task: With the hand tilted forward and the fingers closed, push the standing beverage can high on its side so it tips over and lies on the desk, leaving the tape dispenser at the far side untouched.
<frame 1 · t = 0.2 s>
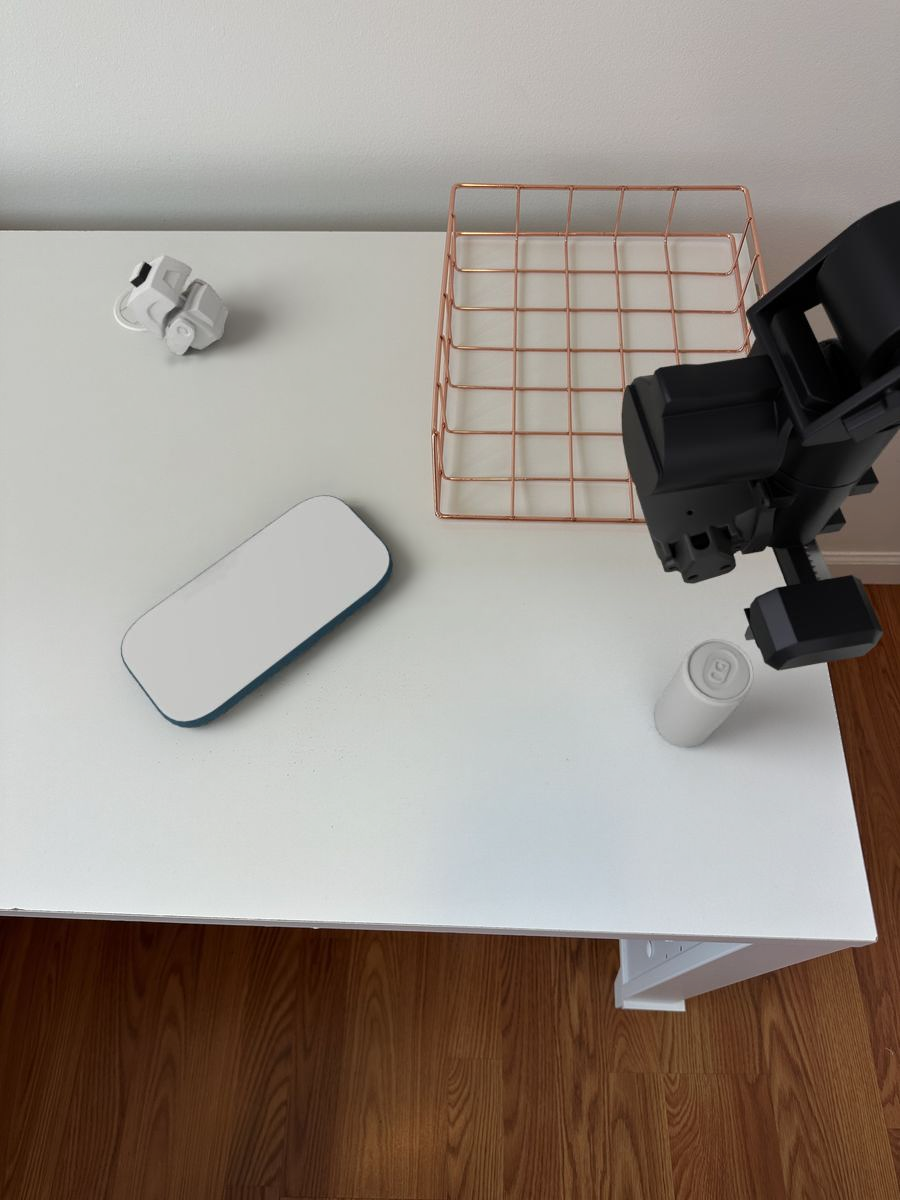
hand: (730, 576, 58), 14 cm above the table, tool pointing down, fingers open, 9 cm apart
beverage can: (680, 721, 68), on the table
external hard drive: (263, 612, 73), on the table
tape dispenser: (193, 336, 87), on the table
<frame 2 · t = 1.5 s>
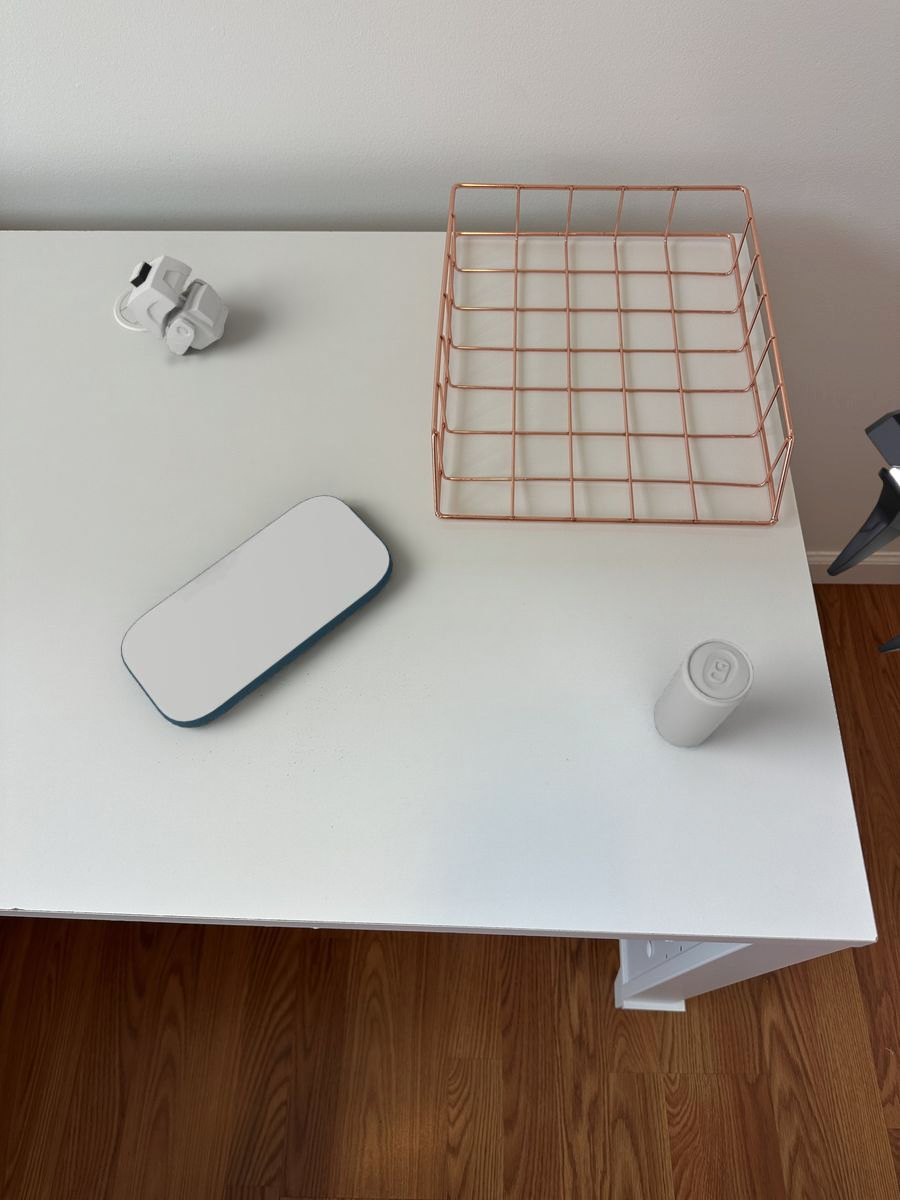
hand: (854, 611, 57), 14 cm above the table, tool tilted 45°, fingers open, 6 cm apart
nothing on the table moved.
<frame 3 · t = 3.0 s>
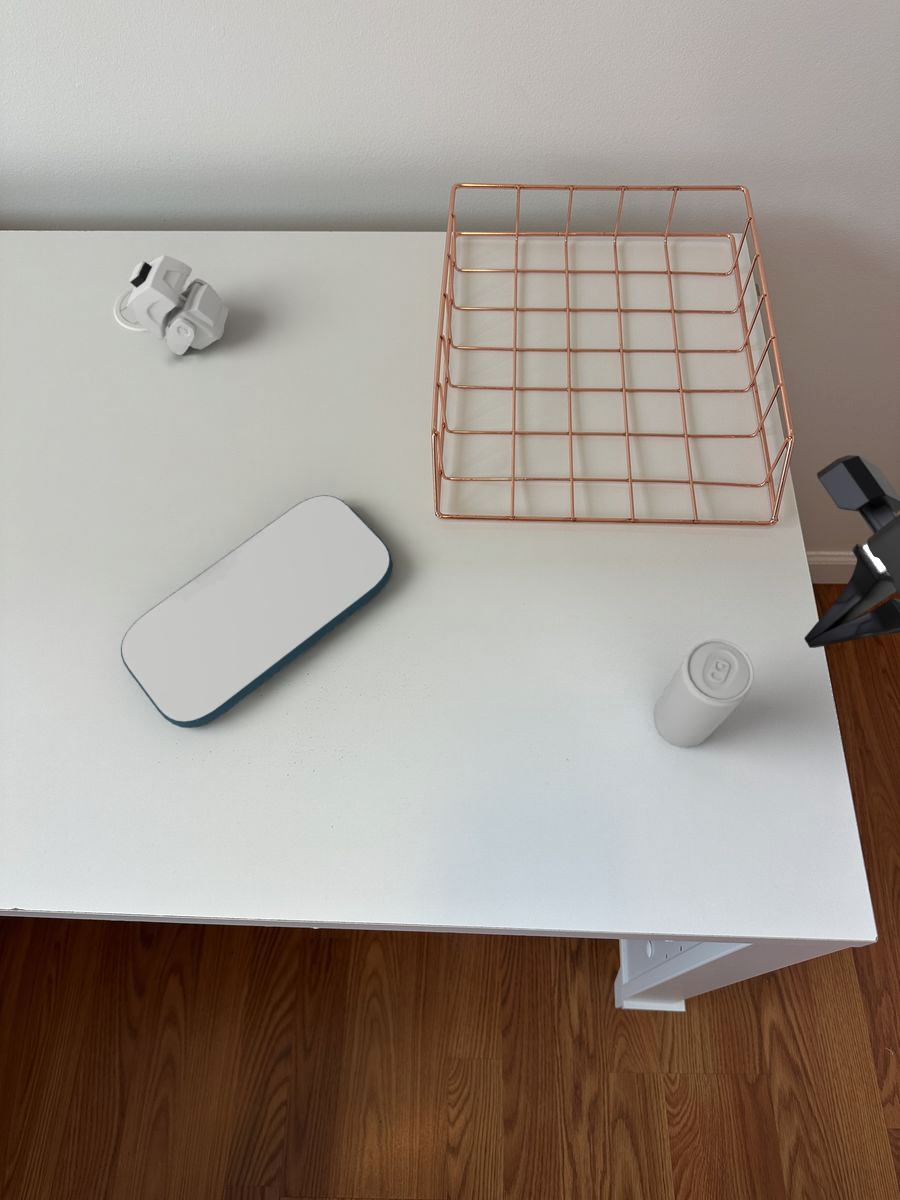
hand: (808, 643, 60), 9 cm above the table, tool tilted 45°, fingers closed
nothing on the table moved.
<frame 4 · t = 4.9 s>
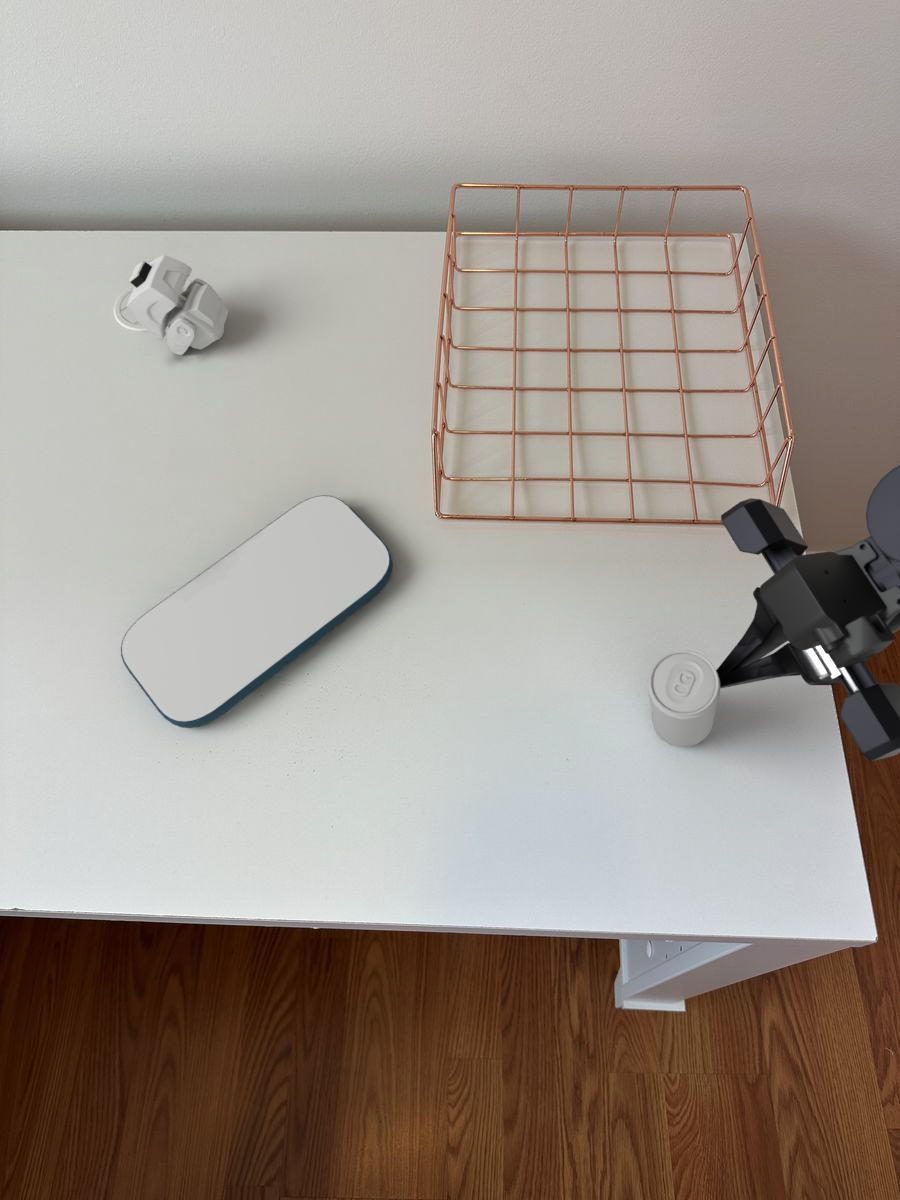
hand: (714, 683, 60), 8 cm above the table, tool tilted 45°, fingers closed, pressing on beverage can
beverage can: (682, 719, 68), on the table, touching gripper
everything else where it was.
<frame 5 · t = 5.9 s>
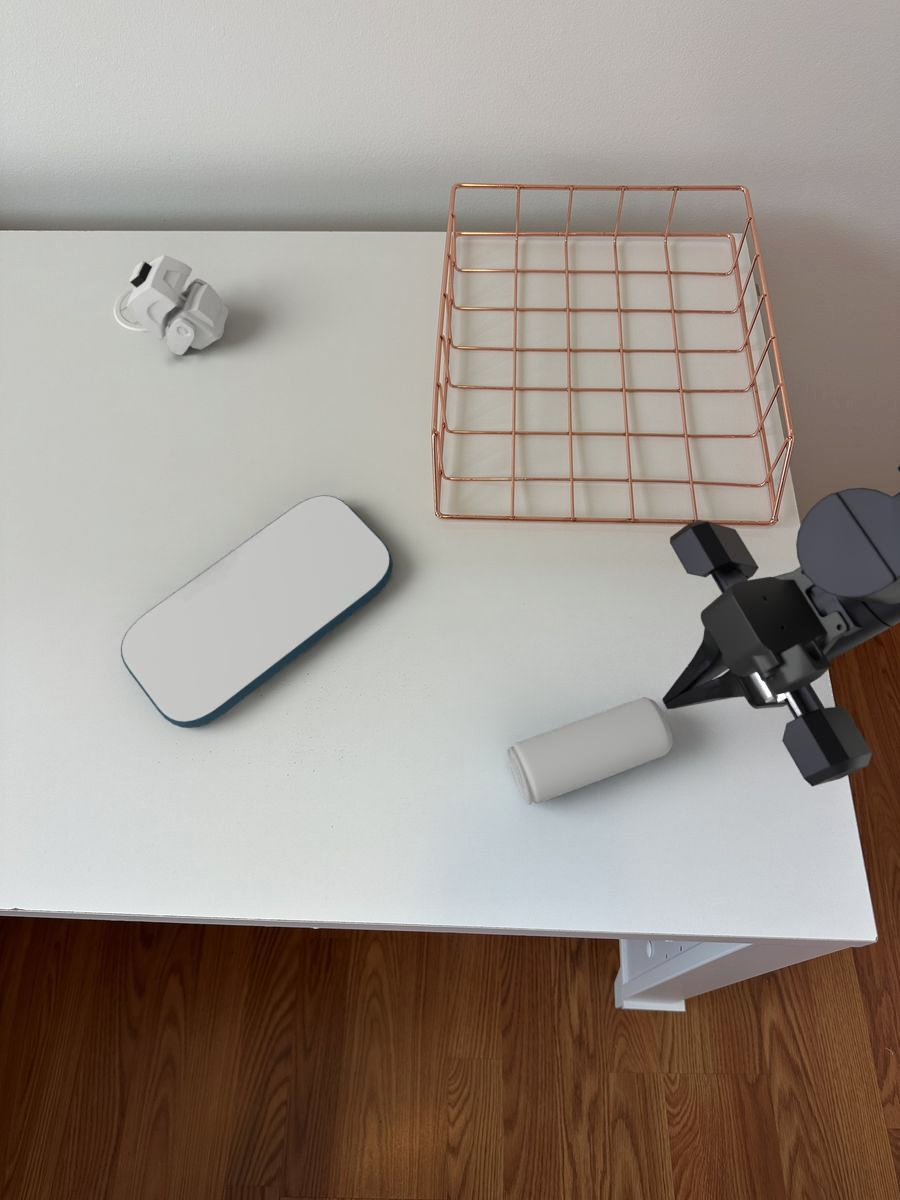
hand: (667, 704, 60), 8 cm above the table, tool tilted 45°, fingers closed
beverage can: (662, 723, 65), point 2 cm above the table
everything else where it was.
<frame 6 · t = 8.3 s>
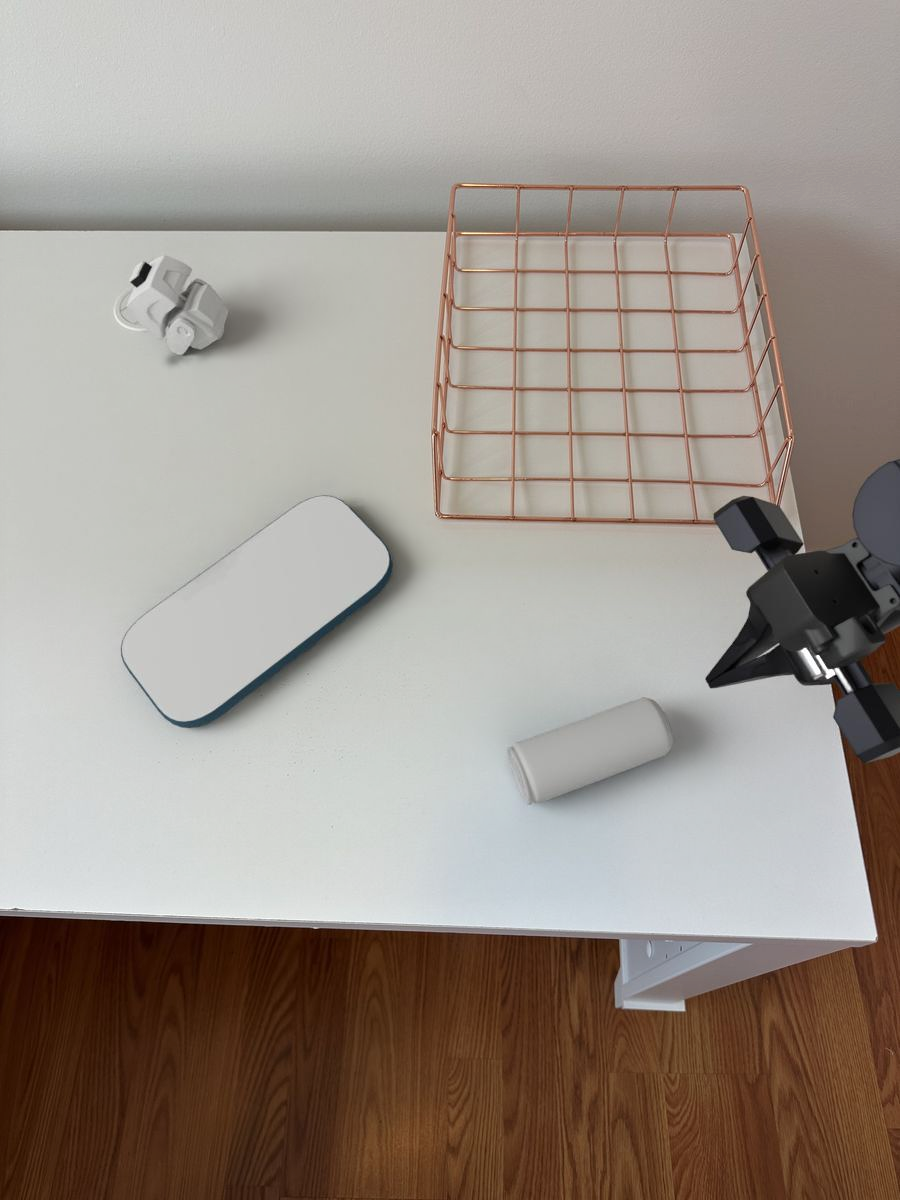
hand: (710, 683, 60), 9 cm above the table, tool tilted 45°, fingers closed
nothing on the table moved.
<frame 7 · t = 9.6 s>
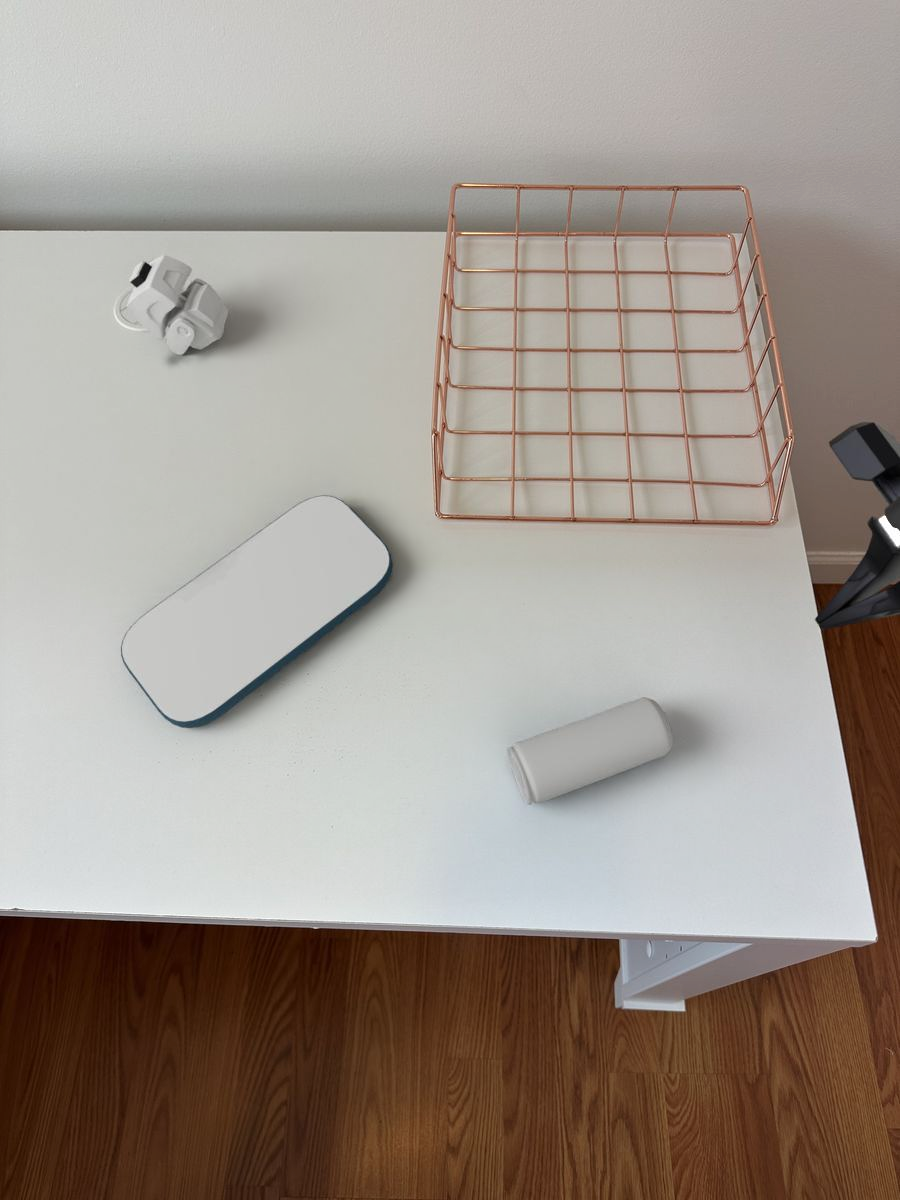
hand: (819, 624, 56), 14 cm above the table, tool tilted 45°, fingers closed
nothing on the table moved.
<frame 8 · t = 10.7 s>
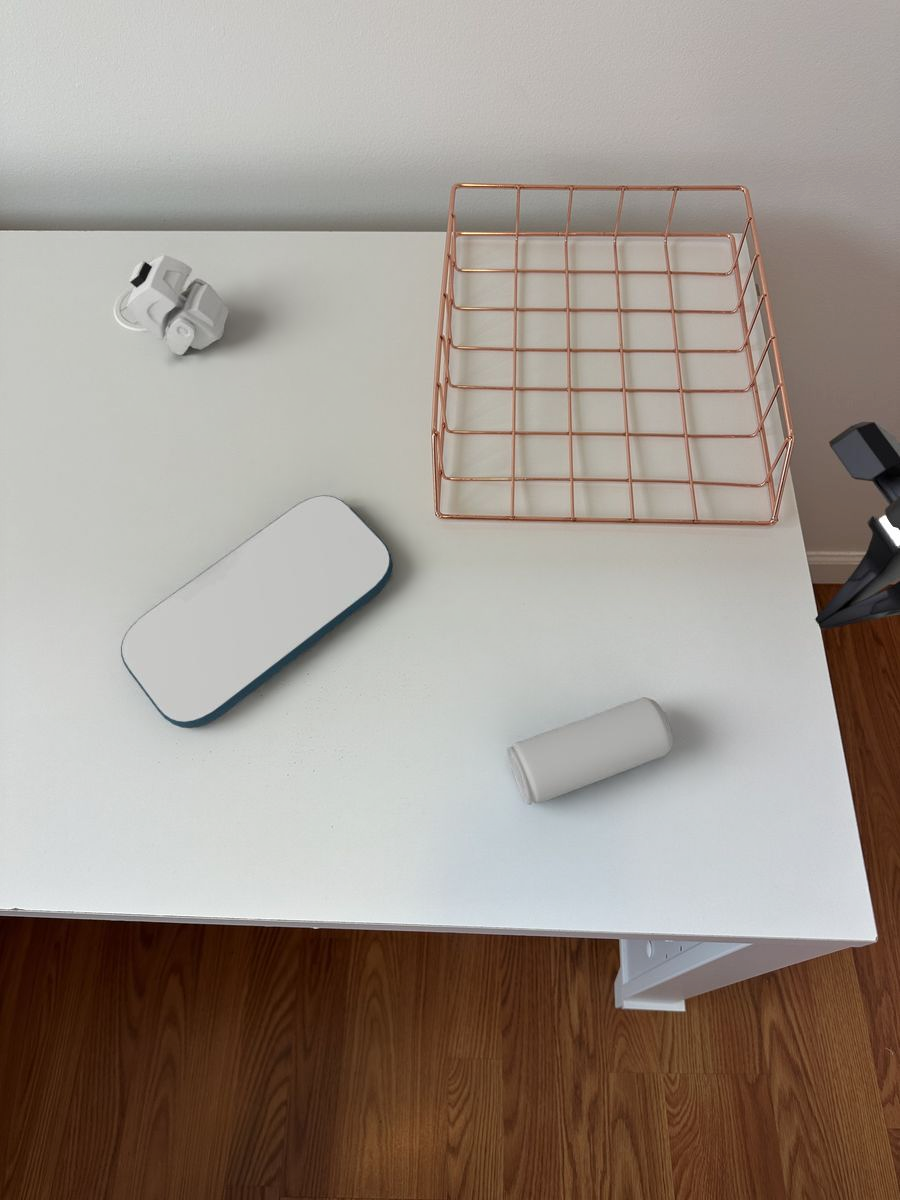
hand: (819, 624, 56), 14 cm above the table, tool tilted 45°, fingers closed
nothing on the table moved.
at the end: beverage can tilted 90°; beverage can inside the target area (7.3 cm from its centre), point 2.4 cm above the table; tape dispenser moved 0.2 cm from its start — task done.
